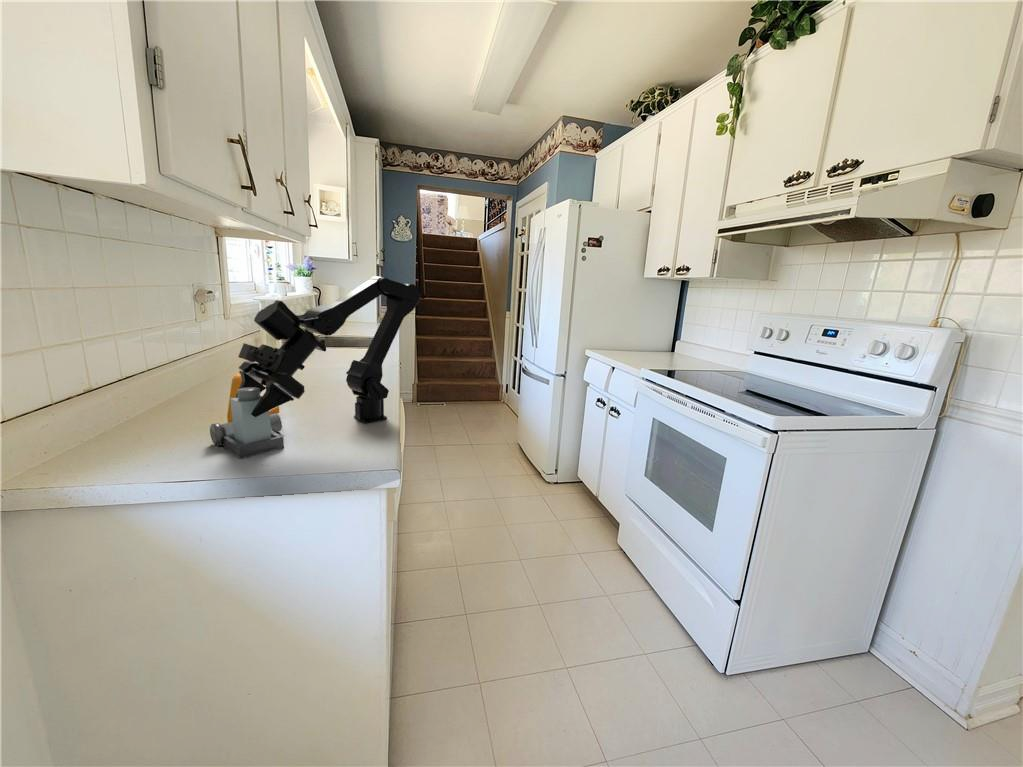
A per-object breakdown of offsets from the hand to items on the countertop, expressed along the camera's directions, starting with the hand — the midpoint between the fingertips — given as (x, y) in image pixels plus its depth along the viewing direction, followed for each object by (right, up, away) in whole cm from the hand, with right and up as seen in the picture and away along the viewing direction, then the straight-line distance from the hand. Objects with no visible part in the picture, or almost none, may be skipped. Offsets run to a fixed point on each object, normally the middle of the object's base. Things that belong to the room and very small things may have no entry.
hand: (243, 410), depth 88 cm
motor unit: (-1, -7, +5) cm, 9 cm away
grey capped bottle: (0, -8, +3) cm, 9 cm away
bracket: (-9, -4, +20) cm, 22 cm away
